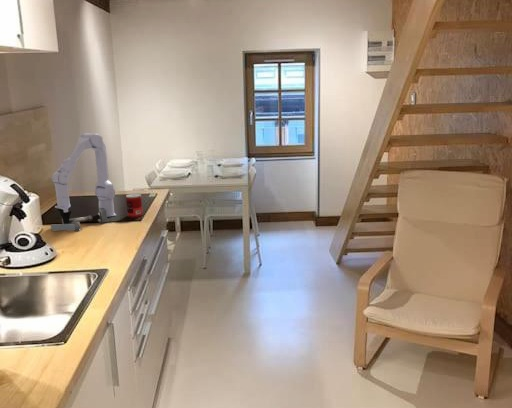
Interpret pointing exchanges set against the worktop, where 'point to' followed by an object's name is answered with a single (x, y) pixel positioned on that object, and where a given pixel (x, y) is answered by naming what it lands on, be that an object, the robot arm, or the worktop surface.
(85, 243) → the worktop surface
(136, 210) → the canned food
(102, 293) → the worktop surface
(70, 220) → the hook rod
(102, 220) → the eye bracket
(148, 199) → the worktop surface
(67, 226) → the grey lever bar
